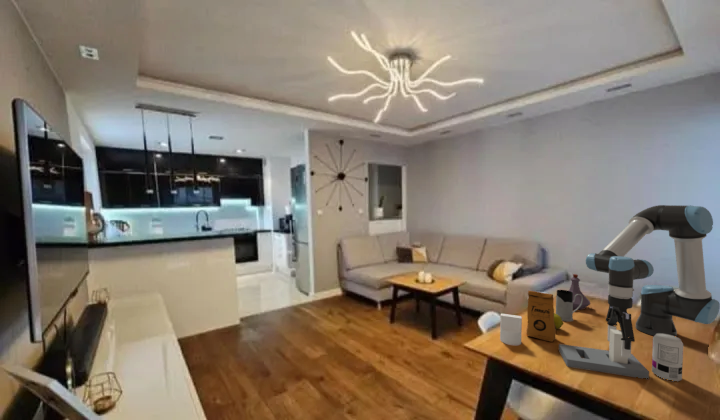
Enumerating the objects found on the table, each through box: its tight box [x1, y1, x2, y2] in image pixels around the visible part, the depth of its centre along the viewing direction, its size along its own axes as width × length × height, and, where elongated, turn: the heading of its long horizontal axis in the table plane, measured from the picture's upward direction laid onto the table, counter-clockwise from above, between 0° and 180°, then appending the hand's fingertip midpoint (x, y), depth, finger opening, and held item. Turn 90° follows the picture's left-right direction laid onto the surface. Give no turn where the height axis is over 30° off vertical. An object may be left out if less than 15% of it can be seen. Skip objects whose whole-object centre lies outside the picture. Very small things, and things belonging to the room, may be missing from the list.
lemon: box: [554, 312, 564, 330], centre depth 163 cm, size 11×8×8 cm
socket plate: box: [558, 343, 650, 380], centre depth 129 cm, size 26×14×3 cm, turn 70°
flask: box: [567, 273, 591, 311], centre depth 193 cm, size 16×16×20 cm
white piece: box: [499, 313, 523, 346], centre depth 149 cm, size 9×9×12 cm
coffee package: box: [525, 290, 557, 343], centre depth 152 cm, size 10×12×22 cm
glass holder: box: [555, 289, 583, 322], centre depth 176 cm, size 9×14×15 cm, turn 88°
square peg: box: [608, 329, 628, 364], centre depth 126 cm, size 4×4×14 cm
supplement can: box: [651, 333, 684, 382], centre depth 119 cm, size 8×8×15 cm
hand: (618, 348), depth 126 cm, fingers open, 13 cm apart
